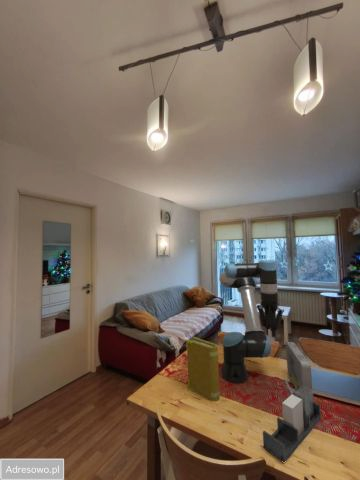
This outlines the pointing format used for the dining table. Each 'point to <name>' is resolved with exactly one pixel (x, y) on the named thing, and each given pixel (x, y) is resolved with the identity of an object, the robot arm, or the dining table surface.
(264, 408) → the dining table surface
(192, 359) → the book
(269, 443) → the rack
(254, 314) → the robot arm
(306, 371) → the network device
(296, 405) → the block
